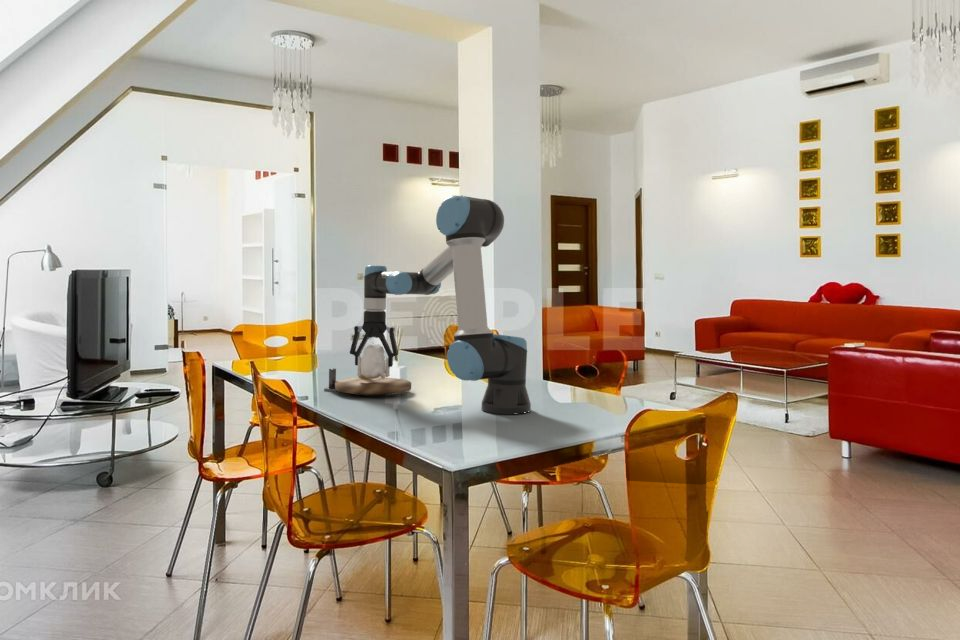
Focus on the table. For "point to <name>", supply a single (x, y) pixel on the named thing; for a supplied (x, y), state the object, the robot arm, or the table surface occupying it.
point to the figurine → (373, 362)
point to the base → (333, 379)
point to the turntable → (372, 385)
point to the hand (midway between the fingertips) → (373, 375)
